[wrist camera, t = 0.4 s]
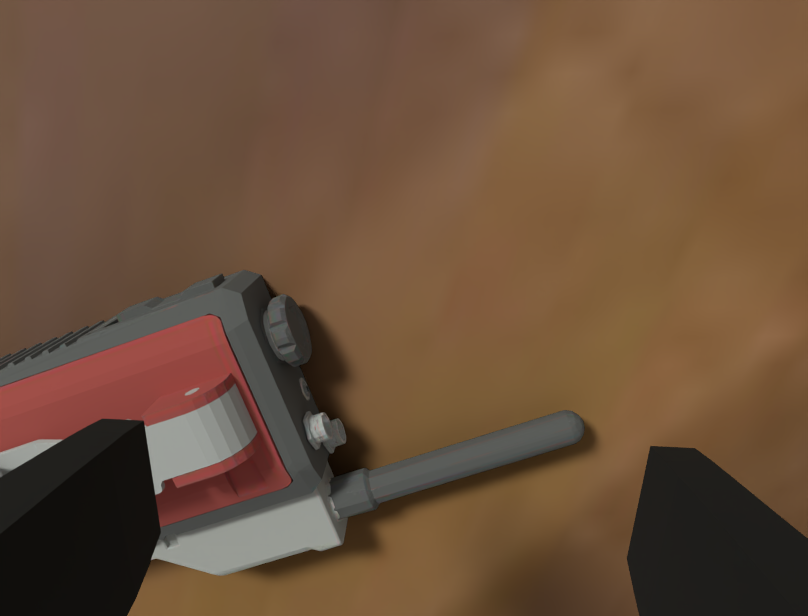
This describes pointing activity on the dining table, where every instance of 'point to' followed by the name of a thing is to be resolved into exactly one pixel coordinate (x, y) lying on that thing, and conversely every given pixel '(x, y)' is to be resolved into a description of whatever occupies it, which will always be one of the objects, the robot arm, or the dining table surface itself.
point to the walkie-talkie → (228, 423)
